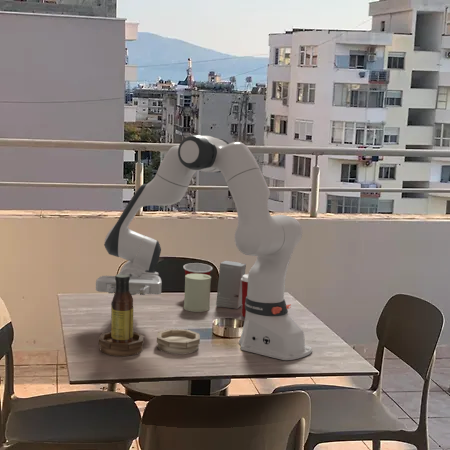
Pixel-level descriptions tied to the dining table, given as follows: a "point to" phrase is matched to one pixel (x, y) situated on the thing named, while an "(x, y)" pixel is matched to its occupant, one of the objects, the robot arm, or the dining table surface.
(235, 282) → the skincare box
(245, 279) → the paper cup
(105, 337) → the walnut ring seat
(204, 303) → the can
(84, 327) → the dining table surface
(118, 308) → the sauce bottle
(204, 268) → the plastic cup
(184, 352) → the birch ring seat
